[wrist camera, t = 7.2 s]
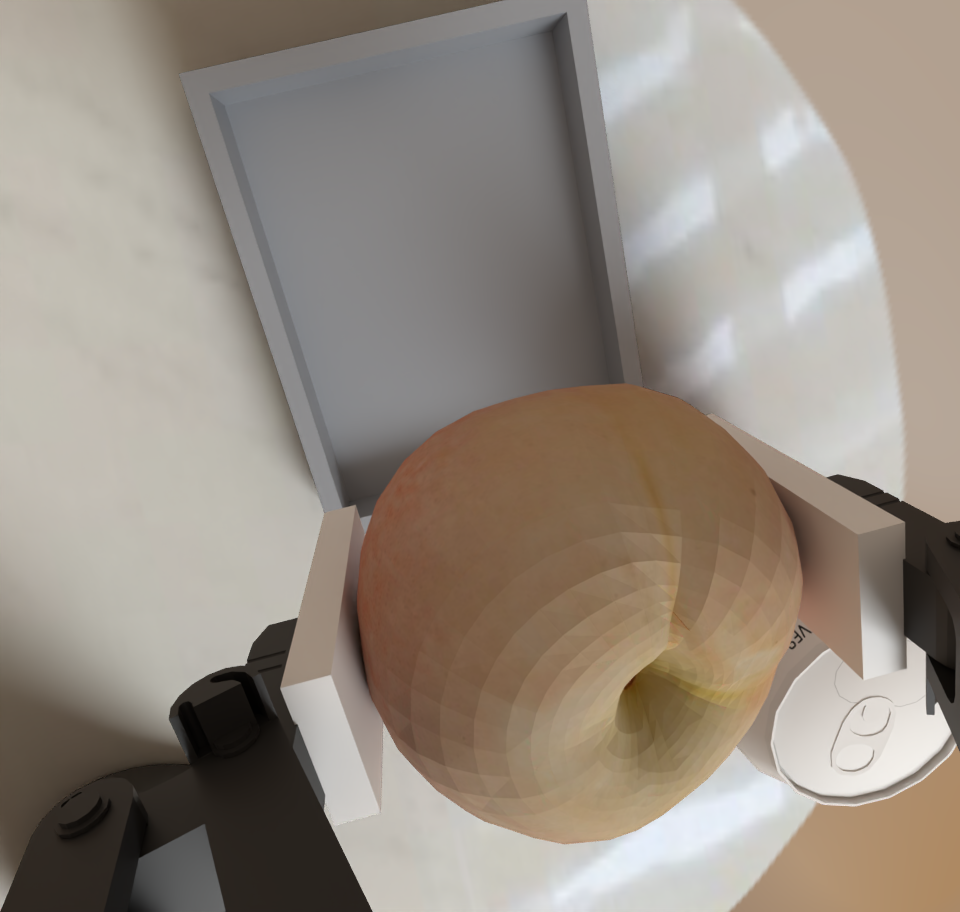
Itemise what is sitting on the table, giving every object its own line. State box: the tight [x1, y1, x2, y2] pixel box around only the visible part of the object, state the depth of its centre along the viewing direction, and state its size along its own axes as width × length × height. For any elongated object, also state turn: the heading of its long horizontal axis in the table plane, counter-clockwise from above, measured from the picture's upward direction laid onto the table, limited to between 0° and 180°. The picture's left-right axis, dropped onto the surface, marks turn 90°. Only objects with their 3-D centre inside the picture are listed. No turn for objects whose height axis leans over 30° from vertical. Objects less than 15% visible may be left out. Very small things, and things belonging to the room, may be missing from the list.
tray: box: [179, 0, 644, 534], centre depth 29 cm, size 15×19×3 cm
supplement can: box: [737, 617, 957, 806], centre depth 28 cm, size 8×8×15 cm
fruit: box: [357, 383, 803, 844], centre depth 13 cm, size 8×8×8 cm
